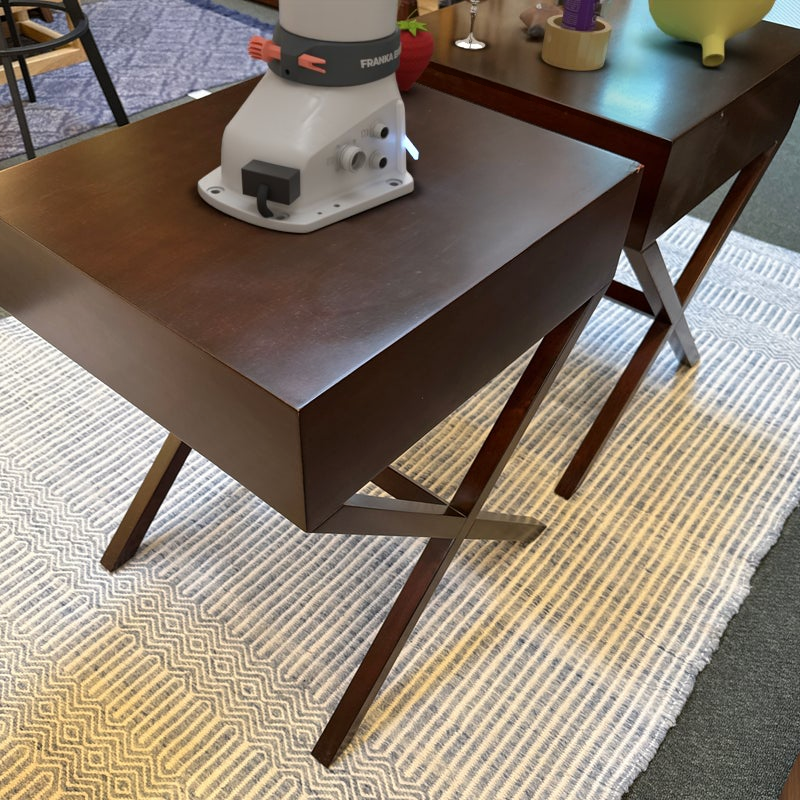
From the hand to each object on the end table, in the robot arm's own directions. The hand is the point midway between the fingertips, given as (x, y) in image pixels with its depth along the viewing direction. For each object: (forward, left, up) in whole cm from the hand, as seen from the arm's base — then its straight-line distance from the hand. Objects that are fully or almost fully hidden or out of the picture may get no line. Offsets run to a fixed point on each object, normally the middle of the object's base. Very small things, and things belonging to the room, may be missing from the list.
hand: (580, 11), depth 117 cm
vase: (+25, -9, +6) cm, 27 cm away
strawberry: (-27, +11, -7) cm, 30 cm away
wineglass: (-5, +14, -7) cm, 17 cm away
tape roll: (0, 0, -7) cm, 7 cm away
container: (0, 0, -6) cm, 6 cm away
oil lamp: (+8, +9, -7) cm, 14 cm away
